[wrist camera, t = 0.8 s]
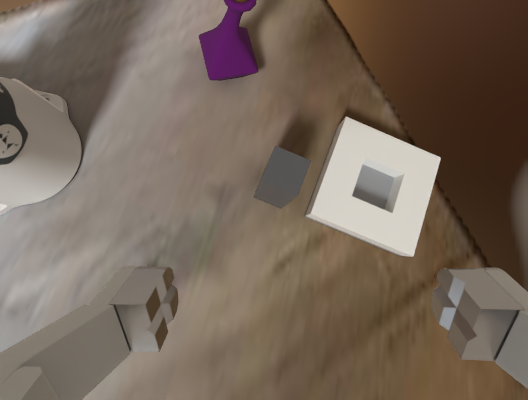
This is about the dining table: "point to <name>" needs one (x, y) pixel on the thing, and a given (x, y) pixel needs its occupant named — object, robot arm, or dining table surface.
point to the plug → (282, 177)
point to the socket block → (374, 188)
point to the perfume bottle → (229, 45)
